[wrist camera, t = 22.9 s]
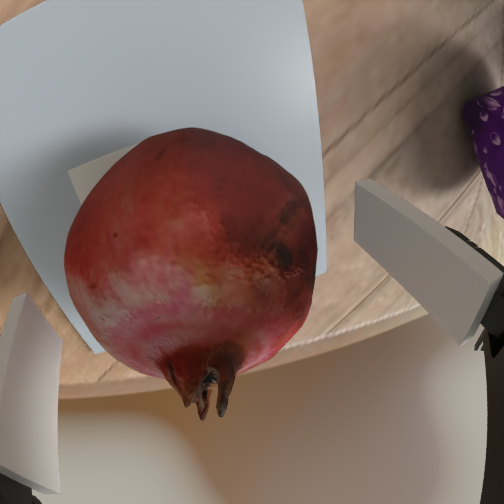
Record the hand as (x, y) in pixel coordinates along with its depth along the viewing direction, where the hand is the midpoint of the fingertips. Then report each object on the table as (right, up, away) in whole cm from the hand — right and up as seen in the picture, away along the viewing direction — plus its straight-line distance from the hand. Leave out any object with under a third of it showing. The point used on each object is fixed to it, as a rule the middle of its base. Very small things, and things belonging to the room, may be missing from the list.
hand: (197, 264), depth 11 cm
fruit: (-2, +2, +4) cm, 5 cm away
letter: (-2, +4, +2) cm, 5 cm away
